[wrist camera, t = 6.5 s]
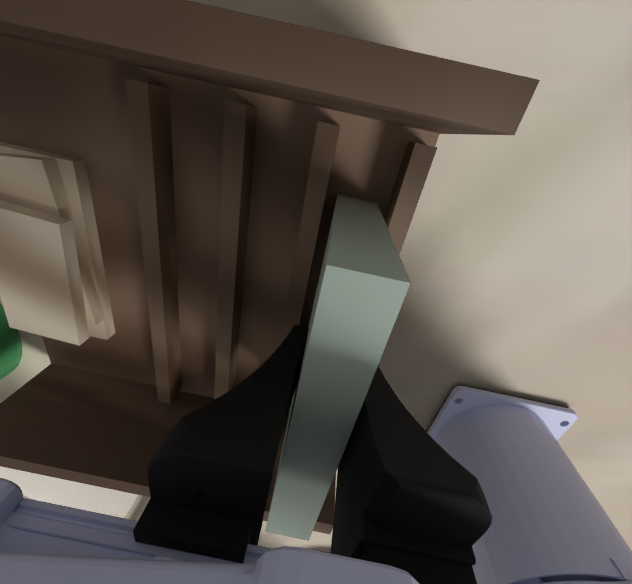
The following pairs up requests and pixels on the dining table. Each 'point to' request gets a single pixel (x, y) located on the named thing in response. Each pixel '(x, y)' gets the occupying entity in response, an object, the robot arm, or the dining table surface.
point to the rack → (209, 199)
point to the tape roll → (8, 346)
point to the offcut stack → (50, 248)
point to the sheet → (337, 359)
